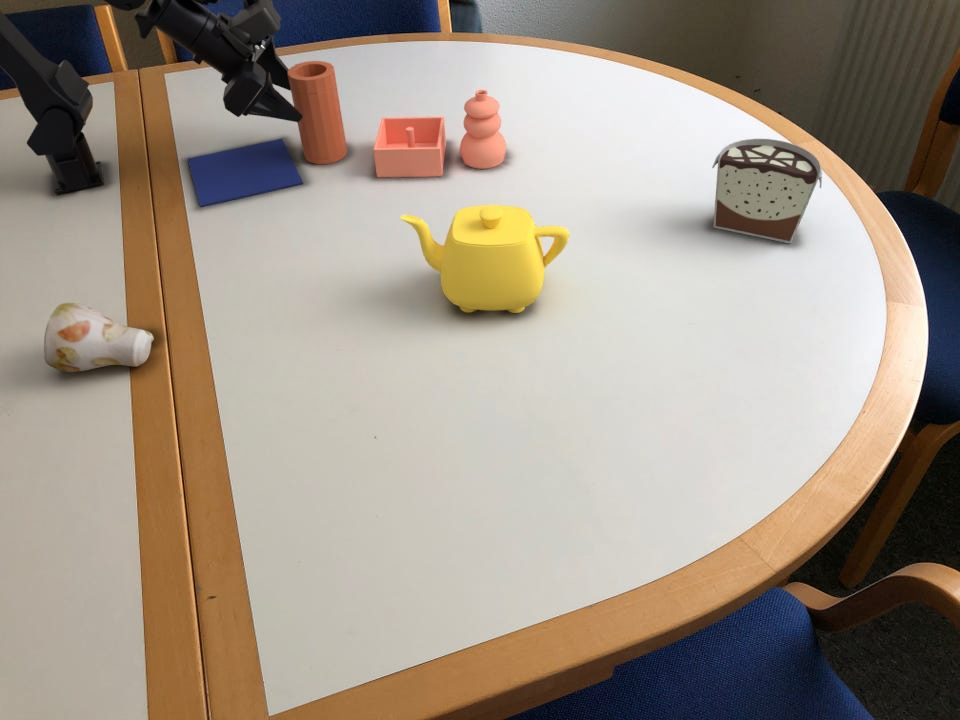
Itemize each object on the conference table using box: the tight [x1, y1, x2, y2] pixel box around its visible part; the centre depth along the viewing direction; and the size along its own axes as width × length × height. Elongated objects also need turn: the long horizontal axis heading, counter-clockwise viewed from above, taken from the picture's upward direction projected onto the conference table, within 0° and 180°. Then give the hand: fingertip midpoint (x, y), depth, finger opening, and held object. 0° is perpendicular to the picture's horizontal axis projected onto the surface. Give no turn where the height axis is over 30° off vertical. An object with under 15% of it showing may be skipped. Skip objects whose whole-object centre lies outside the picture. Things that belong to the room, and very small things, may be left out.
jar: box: [288, 60, 348, 165], centre depth 112 cm, size 6×6×12 cm
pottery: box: [373, 89, 507, 178], centre depth 110 cm, size 18×10×10 cm, turn 88°
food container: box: [711, 138, 823, 244], centre depth 96 cm, size 12×6×10 cm, turn 65°
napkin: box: [187, 138, 304, 208], centre depth 113 cm, size 14×14×1 cm
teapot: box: [400, 204, 570, 314], centre depth 87 cm, size 18×11×11 cm, turn 86°
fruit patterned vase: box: [43, 302, 155, 373], centre depth 82 cm, size 8×10×10 cm
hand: (301, 104), depth 110 cm, fingers open, 9 cm apart
